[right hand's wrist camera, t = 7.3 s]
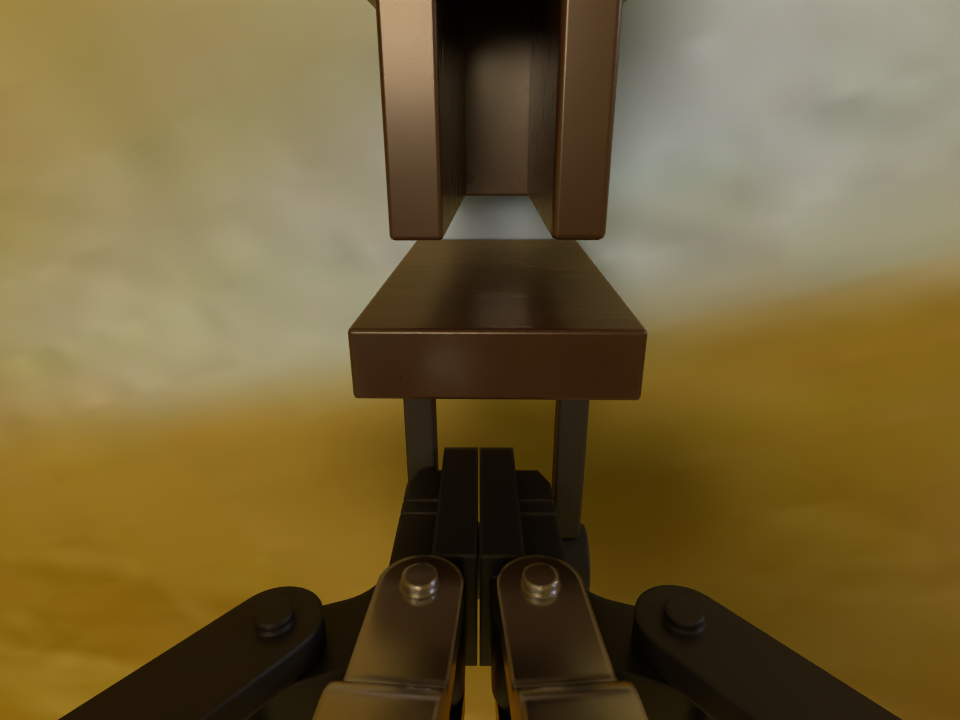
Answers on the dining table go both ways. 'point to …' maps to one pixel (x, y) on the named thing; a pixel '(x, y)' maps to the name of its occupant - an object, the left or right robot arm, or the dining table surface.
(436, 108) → the drawer
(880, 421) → the dining table surface
